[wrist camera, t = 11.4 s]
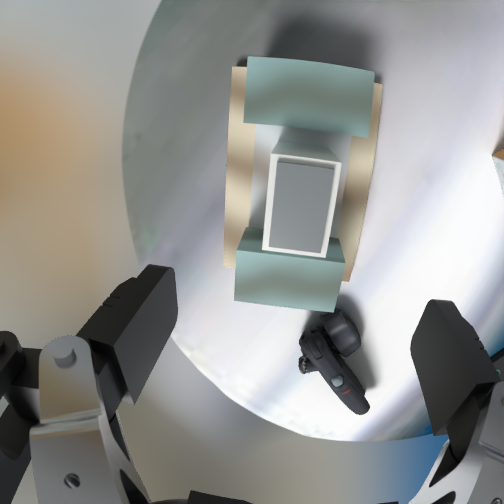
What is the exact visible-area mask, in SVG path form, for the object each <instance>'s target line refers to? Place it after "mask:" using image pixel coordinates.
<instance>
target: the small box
mask: <svg viewBox="0 0 504 504" xmlns="http://www.w3.org/2000/svg"><path fill="white" fill-rule="evenodd" d="M492 158H493V161H494V164H495V167H496V171H497V174H498V178H499V181H500V185H501V188H502V192H503V196H504V148H503V149H501V150H500V151H498V152H496V153H494V154H493V155H492Z"/></svg>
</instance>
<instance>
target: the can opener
mask: <svg viewBox="0 0 504 504" xmlns="http://www.w3.org/2000/svg"><path fill="white" fill-rule="evenodd" d="M320 318H321V321H322V323H323V325H324V328H325V330H326V334H325V333H324V331H323V330H322V329H321V328H320V327H310V328H308V329H306V330H305V331H304V332H303V334H302V335H301V338H300V339H299V345H300V346H301V352H302V354H303V356H302V357H300V358H299V365H298V366H299V370H300V372H301V373H302V374H305V373H310V372H313V371H319V372H320V373H321V375H322V376H323V378H324V379H325V381H326V382H327V383H328V384H329V386H330V387H331V389H332V390H333V391H334V392H335V394H336V395H337V396H338V397H339V398H340V400H341V401H342V402H343V403H344V404H345V405H346V406H347V407H348V408H349V409H350V410H352V411H353V412H354V413H356V414H359V415H363V414H365V413H367V412H368V410H369V409H370V405H369V403H368V401H367V400H366V398H365V397H364V395H365V392H364V389H363V388H362V386H361V384H360V382H359V381H358V379H357V377H356V376H355V375H354V373H353V372H352V371H351V369H350V368H349V367H348V366H347V364H346V363H345V362H344V360H343V359H342V358H341V356H340V355H339V354H341V355H343V356H345V357H348V356H349V355H351V354H352V353H353V352H354V351H355V350H357V349H358V348H359V347H360V346H361V338H360V335H359V332H358V329H357V327H356V325H355V324H354V322H353V321H352V319H351V318H350V317H349V316H348V315H347V314H346V313H345V312H344V311H343V310H341V309H335V310H334V312H327V313H325V314H322V315H320Z"/></svg>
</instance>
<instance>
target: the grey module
mask: <svg viewBox="0 0 504 504" xmlns="http://www.w3.org/2000/svg"><path fill="white" fill-rule="evenodd" d="M341 164H342V162H341V161H340V160H339V159H338V158H337V157H336V156H335V155H334V153H333V152H332V151H331V150H330V149H329V148H325V147H318V146H310V145H303V144H295V143H286V142H277V144H276V145H275V147H274V149H273V151H272V152H271V157H270V168H269V179H268V190H267V201H266V212H265V223H264V234H263V244H262V250H267V251H275V252H283V253H291V254H299V255H307V256H315V257H323V258H326V253H327V247H328V242H329V237H330V232H331V226H332V220H333V215H334V209H335V203H336V197H337V191H338V184H339V178H340V171H341Z"/></svg>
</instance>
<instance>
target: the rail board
mask: <svg viewBox="0 0 504 504" xmlns="http://www.w3.org/2000/svg"><path fill="white" fill-rule="evenodd" d="M374 76H375V72H372V71H367V70H363V69H357V68H352V67H347V66H341V65H335V64H328V63H321V62H313V61H305V60H295V59H284V58H270V57H248V60H247V67H232V80H231V96H230V113H229V131H228V151H227V173H226V198H225V227H224V266H223V267H230V268H236V270H235V294H234V301H241V302H248V303H256V304H263V305H271V306H279V307H288V308H296V309H305V310H314V311H324V312H334V309H335V305H336V301H337V297H338V294H339V290H340V286H341V281H347V282H349V280H350V276H351V272H352V268H353V264H354V260H355V256H356V252H357V247H358V243H359V238H360V234H361V229H362V224H363V219H364V214H365V209H366V204H367V199H368V193H369V188H370V182H371V176H372V170H373V163H374V157H375V150H376V143H377V135H378V127H379V118H380V109H381V99H382V88H383V84H378V83H374ZM277 142H286V143H295V144H303V145H310V146H318V147H325V148H329V149H330V150H331V151H332V152H333V153H334V155H335V156H336V157H337V158H338V159H339V160H340V161H341V162H342V164H341V171H340V178H339V184H338V191H337V197H336V203H335V209H334V215H333V220H332V226H331V232H330V237H329V242H328V247H327V253H326V258H323V257H315V256H307V255H299V254H291V253H283V252H275V251H267V250H262V244H263V234H264V223H265V212H266V201H267V190H268V179H269V168H270V157H271V152H272V151H273V149H274V147H275V145H276V144H277Z"/></svg>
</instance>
